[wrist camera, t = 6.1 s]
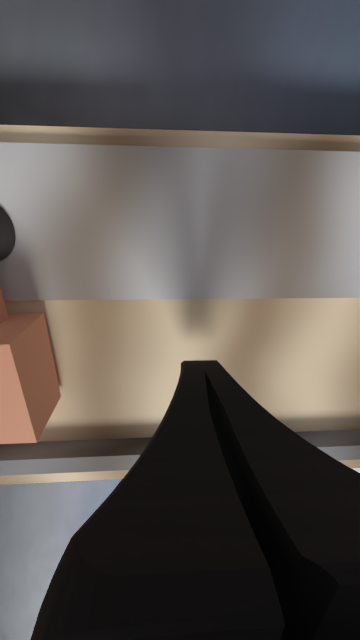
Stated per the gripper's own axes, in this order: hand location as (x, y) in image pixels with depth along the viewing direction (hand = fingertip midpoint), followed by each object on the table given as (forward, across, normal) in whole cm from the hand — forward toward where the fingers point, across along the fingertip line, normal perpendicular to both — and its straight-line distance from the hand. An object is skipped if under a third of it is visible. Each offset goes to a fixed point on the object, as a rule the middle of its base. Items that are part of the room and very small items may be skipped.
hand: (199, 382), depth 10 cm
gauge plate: (+3, +3, 0) cm, 5 cm away
